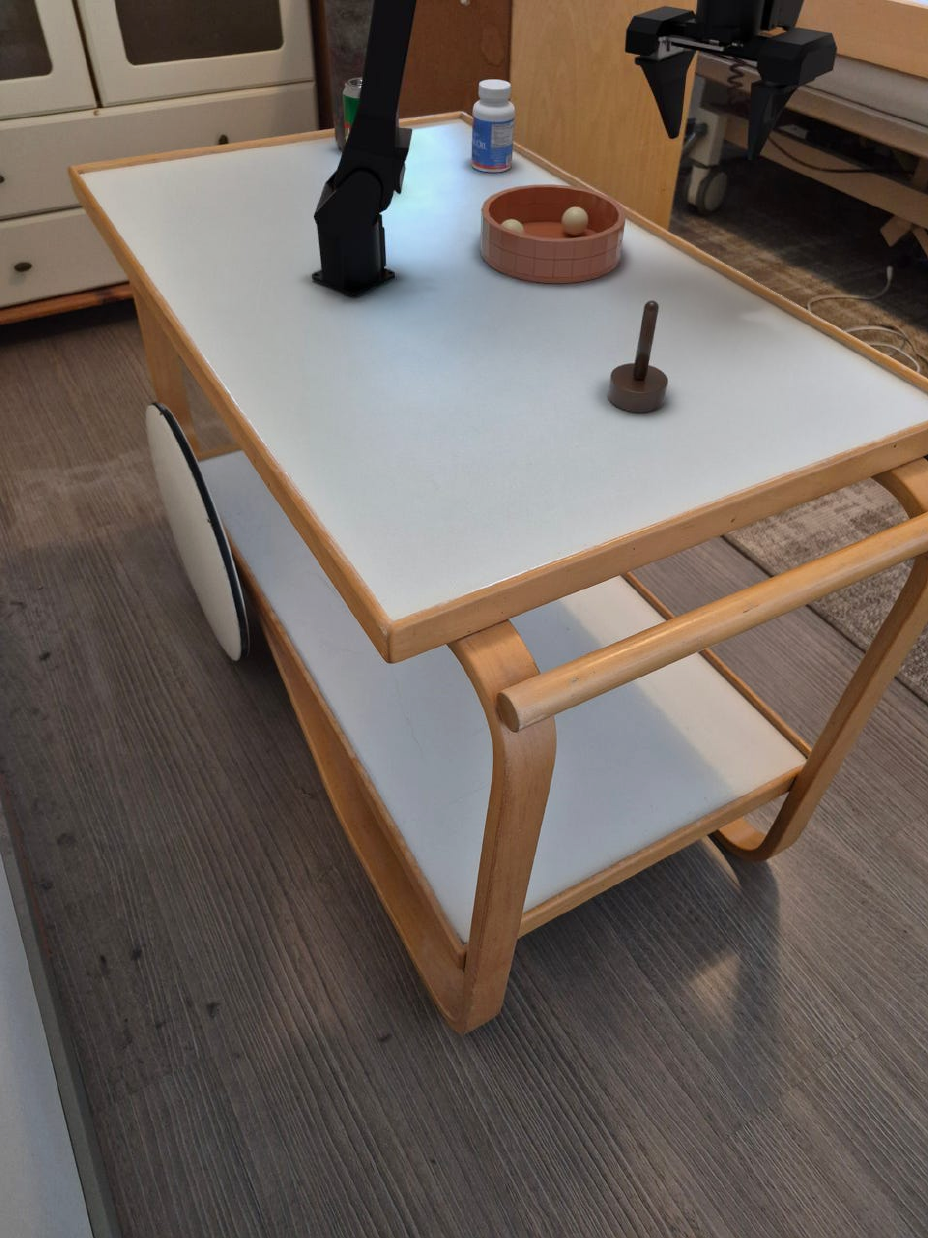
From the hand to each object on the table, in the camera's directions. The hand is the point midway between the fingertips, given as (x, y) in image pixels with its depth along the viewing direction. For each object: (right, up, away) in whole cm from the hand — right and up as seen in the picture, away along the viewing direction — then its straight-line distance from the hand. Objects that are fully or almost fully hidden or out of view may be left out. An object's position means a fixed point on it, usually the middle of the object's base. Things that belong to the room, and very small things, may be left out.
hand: (712, 147), depth 86 cm
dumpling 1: (-18, -2, +14) cm, 23 cm away
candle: (-38, +20, +39) cm, 58 cm away
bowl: (-14, -4, +16) cm, 21 cm away
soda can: (-35, +9, +27) cm, 46 cm away
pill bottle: (-20, +15, +34) cm, 42 cm away
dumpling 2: (-11, 0, +16) cm, 20 cm away
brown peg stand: (-8, -25, -5) cm, 27 cm away
